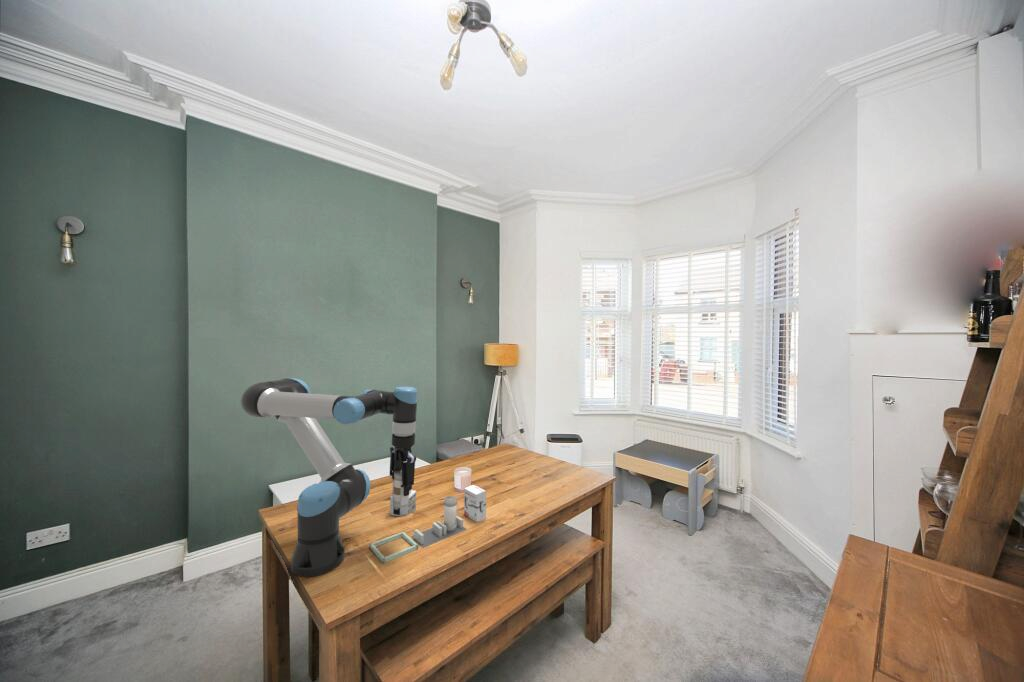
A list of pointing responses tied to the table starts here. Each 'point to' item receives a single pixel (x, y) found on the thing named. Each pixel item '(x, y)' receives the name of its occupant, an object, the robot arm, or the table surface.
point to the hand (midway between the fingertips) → (400, 501)
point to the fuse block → (436, 533)
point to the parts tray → (395, 555)
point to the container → (407, 509)
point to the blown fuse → (397, 489)
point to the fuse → (450, 513)
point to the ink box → (475, 503)
